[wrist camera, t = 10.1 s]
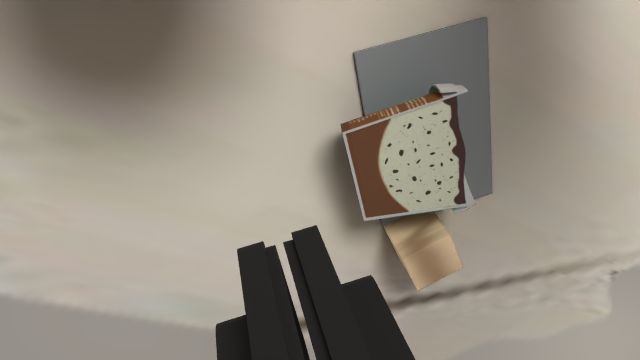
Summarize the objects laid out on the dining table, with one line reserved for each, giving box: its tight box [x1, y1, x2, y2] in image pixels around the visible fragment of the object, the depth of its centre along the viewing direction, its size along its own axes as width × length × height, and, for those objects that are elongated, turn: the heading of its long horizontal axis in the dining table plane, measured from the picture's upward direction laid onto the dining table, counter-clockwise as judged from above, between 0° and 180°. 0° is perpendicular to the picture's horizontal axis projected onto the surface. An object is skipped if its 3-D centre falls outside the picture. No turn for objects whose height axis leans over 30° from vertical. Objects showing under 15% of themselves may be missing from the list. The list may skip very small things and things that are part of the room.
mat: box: [353, 17, 492, 226], centre depth 46 cm, size 12×18×1 cm, turn 12°
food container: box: [341, 83, 476, 221], centre depth 44 cm, size 12×6×10 cm
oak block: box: [384, 211, 463, 291], centre depth 49 cm, size 5×5×5 cm
